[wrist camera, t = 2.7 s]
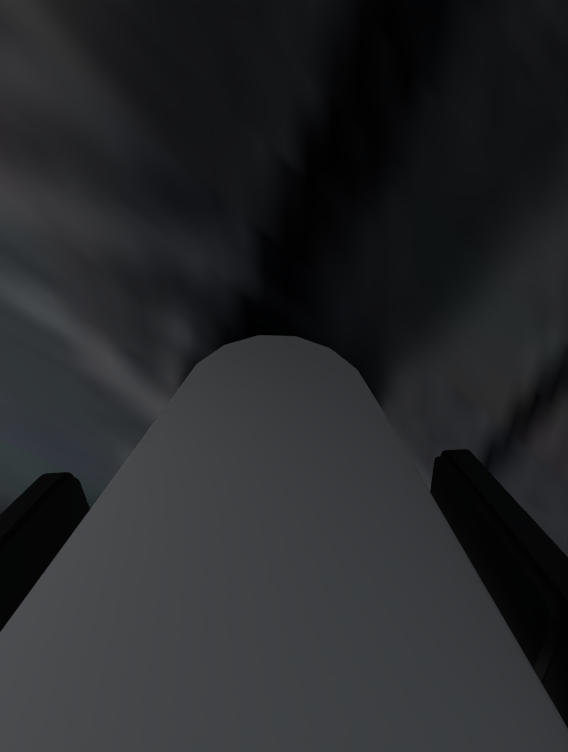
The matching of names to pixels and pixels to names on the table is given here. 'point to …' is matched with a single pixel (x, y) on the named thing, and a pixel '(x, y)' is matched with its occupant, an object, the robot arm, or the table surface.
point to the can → (268, 589)
